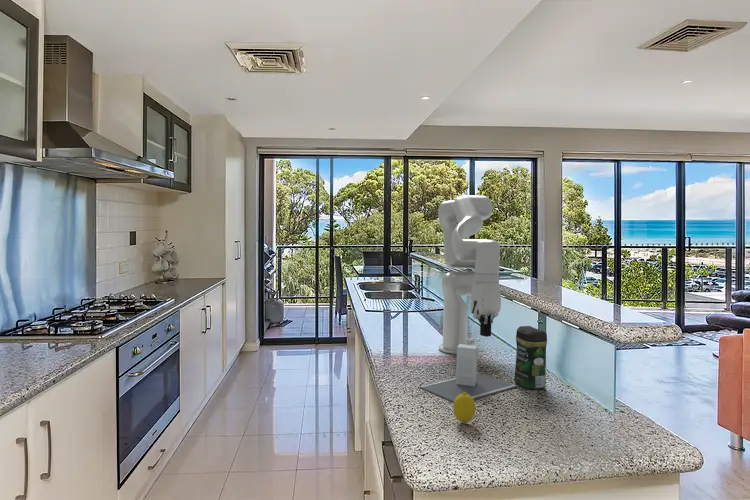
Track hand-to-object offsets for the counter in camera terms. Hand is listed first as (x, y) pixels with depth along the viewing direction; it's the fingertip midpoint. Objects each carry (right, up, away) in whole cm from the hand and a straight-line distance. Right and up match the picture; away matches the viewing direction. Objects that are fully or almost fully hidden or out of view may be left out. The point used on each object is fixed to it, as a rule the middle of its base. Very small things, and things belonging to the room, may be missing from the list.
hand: (485, 335), depth 155 cm
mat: (-6, -15, -6) cm, 17 cm away
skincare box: (-7, -15, -3) cm, 17 cm away
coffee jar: (+13, -16, -2) cm, 21 cm away
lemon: (-13, -17, -32) cm, 39 cm away
